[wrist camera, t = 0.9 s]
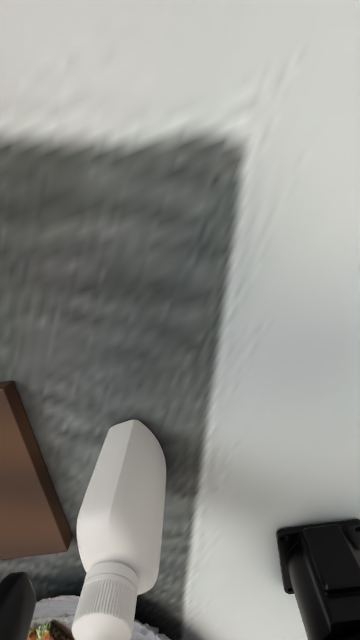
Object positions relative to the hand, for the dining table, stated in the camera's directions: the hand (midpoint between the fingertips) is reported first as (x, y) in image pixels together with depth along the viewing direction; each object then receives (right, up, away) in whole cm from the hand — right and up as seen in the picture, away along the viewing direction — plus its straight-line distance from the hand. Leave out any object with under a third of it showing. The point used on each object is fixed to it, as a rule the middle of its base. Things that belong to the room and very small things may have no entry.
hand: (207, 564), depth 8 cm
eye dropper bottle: (-4, -3, +15) cm, 16 cm away
